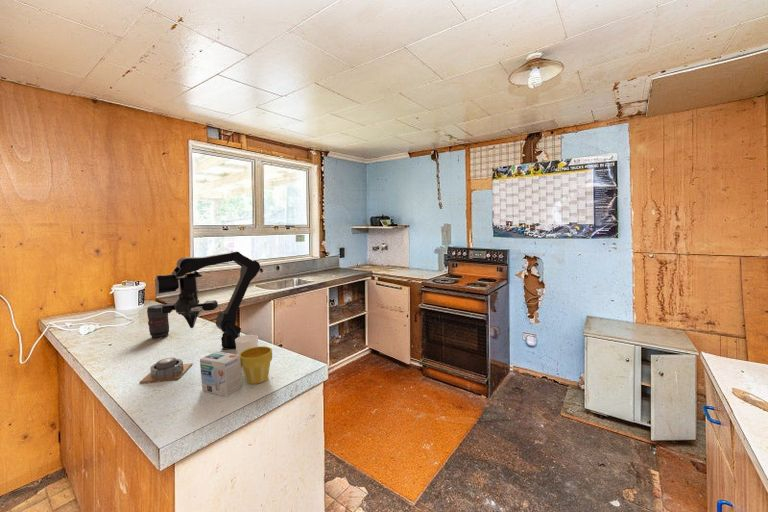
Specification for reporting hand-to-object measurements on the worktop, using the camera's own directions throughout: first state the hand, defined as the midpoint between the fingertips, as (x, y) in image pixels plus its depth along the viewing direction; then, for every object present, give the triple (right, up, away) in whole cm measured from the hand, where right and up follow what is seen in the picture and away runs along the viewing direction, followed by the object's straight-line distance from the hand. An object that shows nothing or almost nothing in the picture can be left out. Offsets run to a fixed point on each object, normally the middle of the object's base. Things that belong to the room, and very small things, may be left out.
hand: (192, 327), depth 130 cm
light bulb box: (+24, -14, -25) cm, 38 cm away
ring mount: (-1, -14, -13) cm, 19 cm away
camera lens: (-31, -10, +26) cm, 42 cm away
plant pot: (+34, -14, -19) cm, 41 cm away
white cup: (+25, -12, -6) cm, 29 cm away
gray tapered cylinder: (-1, -13, -13) cm, 18 cm away
